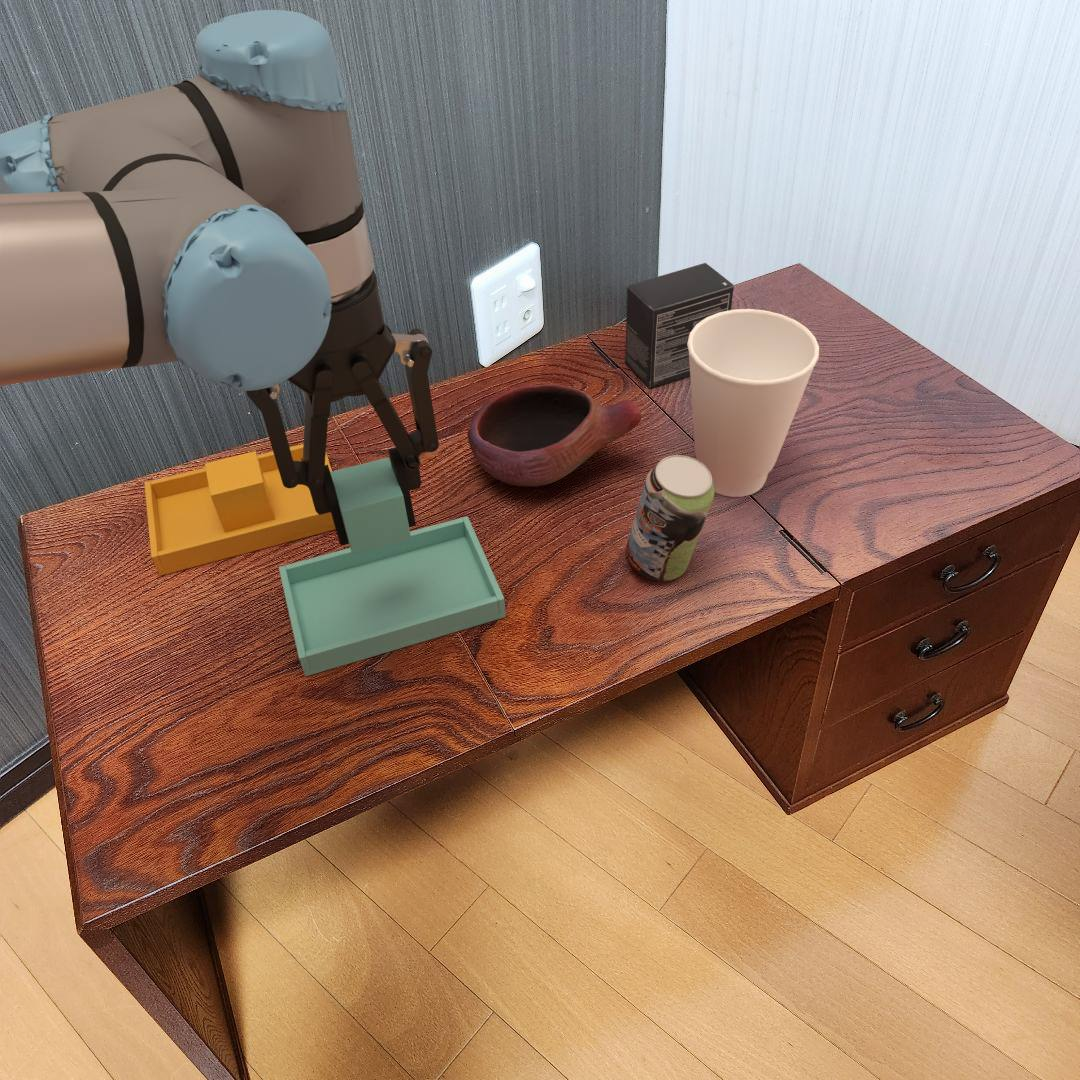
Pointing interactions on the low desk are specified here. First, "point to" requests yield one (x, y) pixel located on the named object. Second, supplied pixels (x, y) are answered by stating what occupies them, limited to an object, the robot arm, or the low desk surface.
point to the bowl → (544, 432)
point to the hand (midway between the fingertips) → (374, 524)
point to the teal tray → (389, 595)
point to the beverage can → (669, 517)
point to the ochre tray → (195, 528)
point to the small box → (670, 320)
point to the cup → (746, 392)
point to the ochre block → (239, 491)
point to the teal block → (371, 505)
